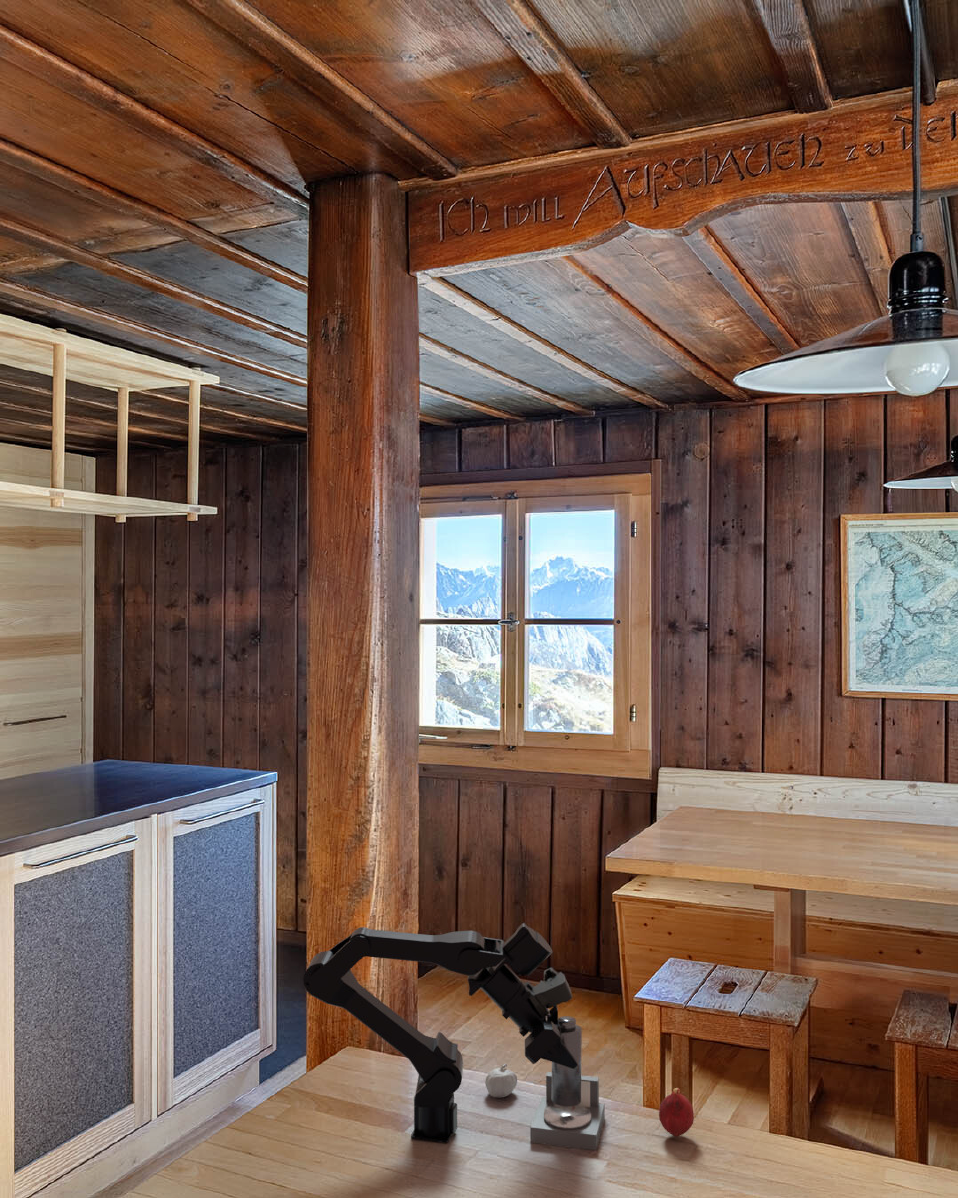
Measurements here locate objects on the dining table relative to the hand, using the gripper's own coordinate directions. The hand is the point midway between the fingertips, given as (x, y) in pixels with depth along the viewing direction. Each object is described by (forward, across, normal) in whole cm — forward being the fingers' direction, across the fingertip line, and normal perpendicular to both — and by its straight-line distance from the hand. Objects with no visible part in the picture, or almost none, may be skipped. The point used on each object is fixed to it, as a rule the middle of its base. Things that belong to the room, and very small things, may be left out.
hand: (574, 1059), depth 178 cm
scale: (+8, +1, +9) cm, 13 cm away
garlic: (0, +14, +18) cm, 23 cm away
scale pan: (+6, 0, +8) cm, 10 cm away
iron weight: (+4, 0, +6) cm, 7 cm away
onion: (+21, -1, -3) cm, 21 cm away
